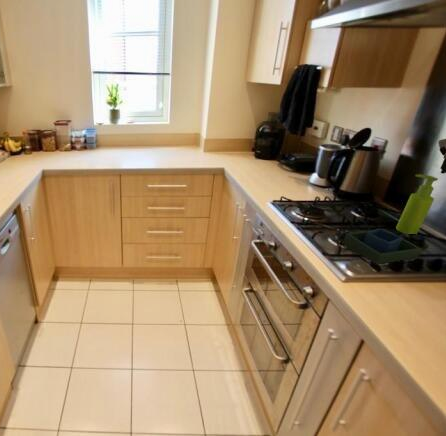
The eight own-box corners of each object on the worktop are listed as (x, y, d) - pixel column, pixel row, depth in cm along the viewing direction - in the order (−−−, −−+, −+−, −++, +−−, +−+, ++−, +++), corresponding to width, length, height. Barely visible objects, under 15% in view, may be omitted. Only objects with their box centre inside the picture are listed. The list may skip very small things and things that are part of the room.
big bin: (379, 240, 106) (384, 228, 104) (416, 261, 95) (422, 249, 93) (341, 245, 104) (346, 233, 102) (375, 267, 93) (380, 255, 91)
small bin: (372, 244, 103) (379, 228, 100) (395, 254, 98) (403, 237, 95) (360, 249, 101) (366, 233, 98) (382, 260, 96) (390, 243, 93)
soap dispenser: (399, 223, 115) (422, 172, 106) (421, 232, 110) (448, 178, 100) (388, 227, 113) (411, 174, 104) (410, 236, 108) (437, 181, 98)
